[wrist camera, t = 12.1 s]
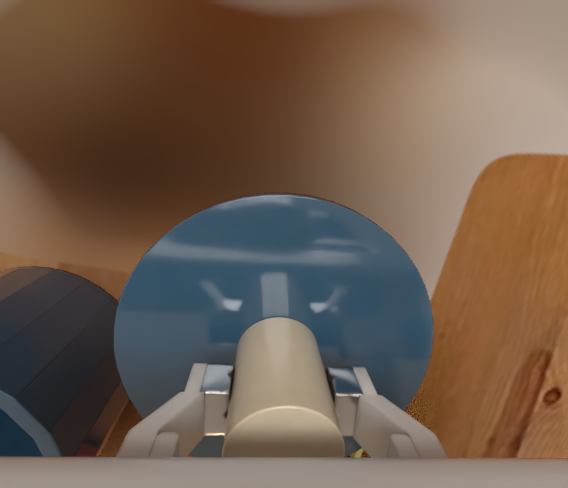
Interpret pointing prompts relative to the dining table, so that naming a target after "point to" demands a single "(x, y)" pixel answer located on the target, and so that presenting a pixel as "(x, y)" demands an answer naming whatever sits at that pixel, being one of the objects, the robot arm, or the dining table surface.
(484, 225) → the dining table surface
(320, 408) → the lid
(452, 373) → the dining table surface
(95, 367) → the canister
